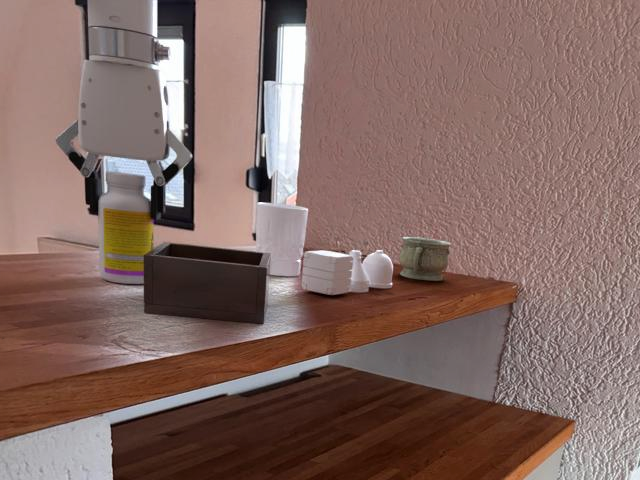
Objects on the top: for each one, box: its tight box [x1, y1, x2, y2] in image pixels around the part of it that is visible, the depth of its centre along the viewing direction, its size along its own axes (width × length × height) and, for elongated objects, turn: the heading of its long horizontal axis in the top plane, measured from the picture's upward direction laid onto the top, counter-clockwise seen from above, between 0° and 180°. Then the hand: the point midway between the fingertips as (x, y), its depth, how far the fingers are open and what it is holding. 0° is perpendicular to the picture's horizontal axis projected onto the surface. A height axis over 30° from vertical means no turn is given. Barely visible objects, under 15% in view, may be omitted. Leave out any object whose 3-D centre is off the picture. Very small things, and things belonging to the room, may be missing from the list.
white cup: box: [255, 201, 309, 277], centre depth 113 cm, size 8×8×10 cm
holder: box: [143, 241, 271, 325], centre depth 84 cm, size 13×13×6 cm
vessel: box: [398, 236, 452, 282], centre depth 128 cm, size 12×9×6 cm
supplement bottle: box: [97, 170, 155, 285], centre depth 92 cm, size 7×7×13 cm
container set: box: [301, 249, 394, 296], centre depth 107 cm, size 20×5×6 cm, turn 151°
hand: (126, 214), depth 91 cm, fingers closed on supplement bottle, 6 cm apart
